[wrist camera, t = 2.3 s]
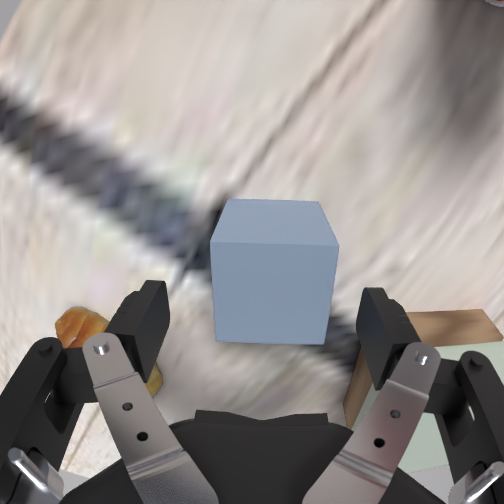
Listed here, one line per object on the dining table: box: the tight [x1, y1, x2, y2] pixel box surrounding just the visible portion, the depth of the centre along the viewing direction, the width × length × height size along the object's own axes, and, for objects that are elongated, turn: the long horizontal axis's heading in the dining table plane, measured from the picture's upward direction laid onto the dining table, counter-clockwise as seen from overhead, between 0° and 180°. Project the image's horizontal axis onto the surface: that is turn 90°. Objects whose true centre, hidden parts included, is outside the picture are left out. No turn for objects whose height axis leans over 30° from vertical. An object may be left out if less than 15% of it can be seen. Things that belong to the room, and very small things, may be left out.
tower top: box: [351, 341, 504, 473], centre depth 18 cm, size 10×10×4 cm
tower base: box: [343, 309, 504, 430], centre depth 21 cm, size 10×10×4 cm
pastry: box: [55, 307, 163, 398], centre depth 22 cm, size 9×7×4 cm
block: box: [210, 199, 339, 344], centre depth 16 cm, size 5×5×6 cm
